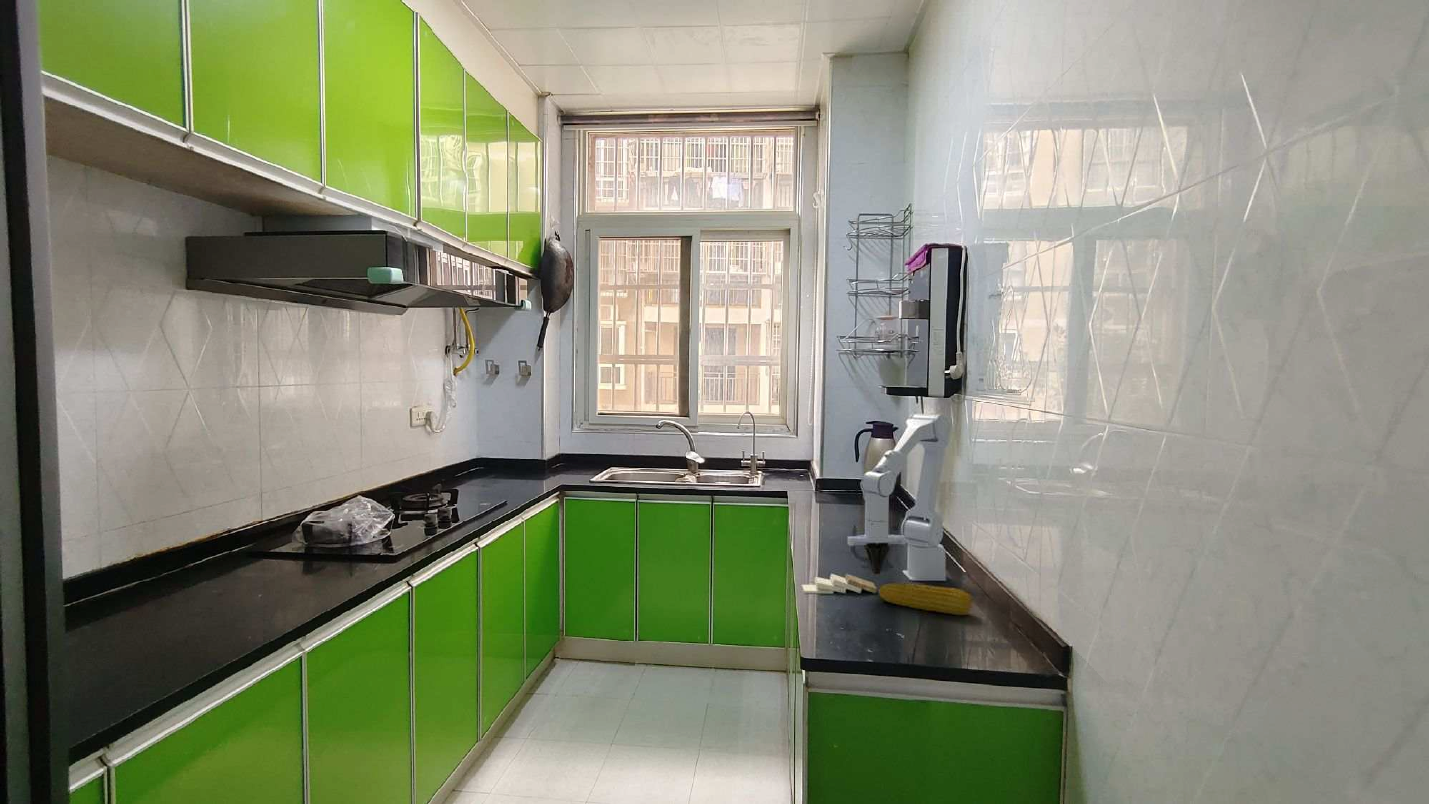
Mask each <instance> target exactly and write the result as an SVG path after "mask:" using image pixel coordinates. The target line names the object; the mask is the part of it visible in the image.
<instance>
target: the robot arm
mask: <svg viewBox="0 0 1429 804" xmlns="http://www.w3.org/2000/svg"><path fill="white" fill-rule="evenodd" d="M951 428H952V424H951V422H950V420H949V418H948V416H947V415H945V414H943V413H940V414H933V413H918V412H913V413H911V414H910V416H909V417H908V418H907V420H906V421H905V430H904V433H903V434H902V436H901V437H900V438H899V441H898V442H897V444H896V445H895V447H894V449H893V450H887V451H885V453H884V454H883V456H882V457H881V459H879V461H878V463H876V465H875V466H874V468H873V469H872V470H869V471H867V472H865V473H864V474H863V476H862V479H861V482H860V483H859V485H860V489H861V491H862V494H863V495H862V497H863V500H864V501H865V503H864V504H865V505H864V506H865V507H864V534H861V535H853V536H852V535H851V536H847V545H848V546H850V547H854V546H863V547H864V550H865V553H866V554H867V556H868V560H869V563H870V567H871V572H872V573H873V574H874V575H880V574H881V571H882V568H883V564H884V561H885V559H886V557H887V556H888V553H889V552H890V546H889V545H897V544H898V545H906V543H907V561H906V562H907V565H906V566H907V569H906V570H905V569H904V570H902V573H903V574H904V575H905V576H906V578H907V579H909V580H910V581H913V582H914V581H915V582H916V581H922V582H923V581H935V582H937V581H938V582H940V581H943V582H945V581H947V578H946V561H947V560H946V558H947V557H946V556H947V555H946V550H945V548H944V546H943V544H940V543H941V542H942V540H943V537H944V527H943V523H944V519H943V517H942V516H941V515H940V514H939V513H938V512H937V510H936V506H937V500H938V493H939V489H940V488H939V487H940V483H941V476H942V471H943V464H944V459H945V458H944V457H945V454H946V448H947V447H948V446H949V441H950V434H951ZM918 444H920V445H921V446H922V448H923V449H924V450H923V451H924V452H923V457H922V463H921V468H920V474H919V478H918V479H919V480H918V486H917V492H916V496H915V497H916V498H915V504H914V506H912V507H911V508H909V509H908V510H906V512H905V516H904V519H903V521H902V523H901V525H900V534H889V515H890V513H889V508H890V507H889V504H890V503H889V502H890V500H889V499H890V498H889V497H890V495H891V494H892V493H893V492H894V489H895V484H896V481H897V477H898V476H899V474H900V473H901V471H902V470H903V469H904V468H905V466H906V464H907V461H906V457H908V455H909V454H910V453H911V452H912V451H913V449H914V448H915V447H916V446H917V445H918ZM920 518H921V519H920ZM922 518H923V519H922ZM927 519H928V520H927Z"/></svg>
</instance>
